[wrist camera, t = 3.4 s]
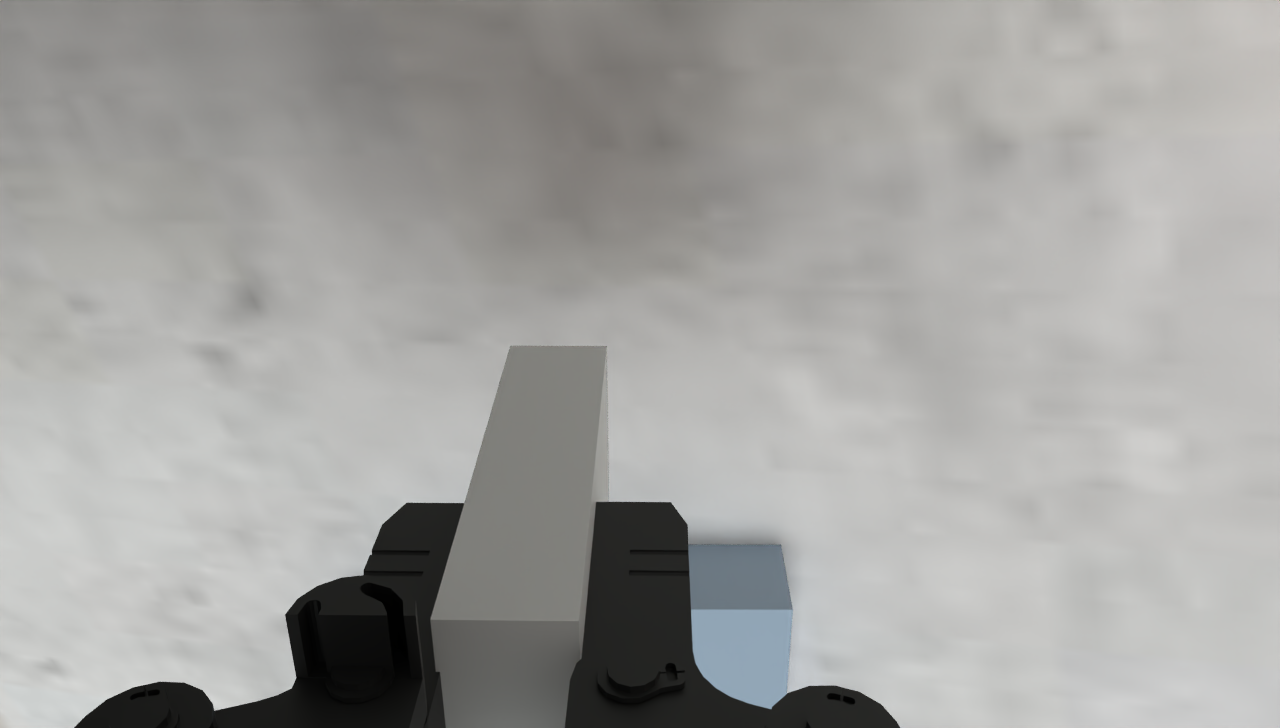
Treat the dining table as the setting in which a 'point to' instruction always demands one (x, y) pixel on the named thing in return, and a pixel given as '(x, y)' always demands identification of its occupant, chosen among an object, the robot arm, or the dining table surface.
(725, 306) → the dining table surface
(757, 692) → the light blue block
